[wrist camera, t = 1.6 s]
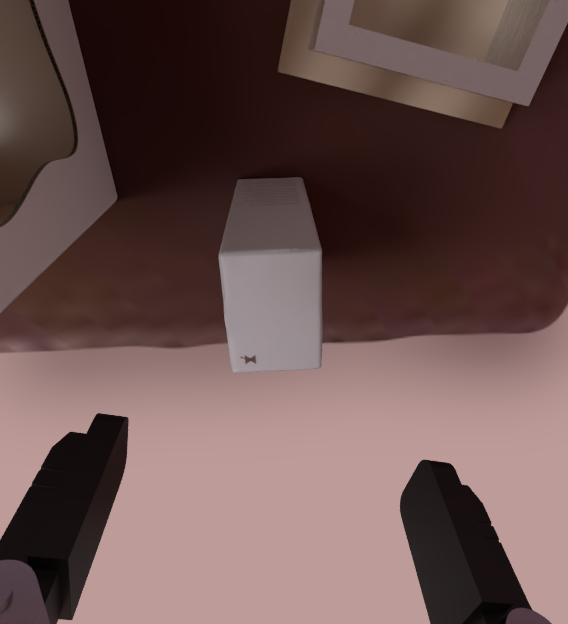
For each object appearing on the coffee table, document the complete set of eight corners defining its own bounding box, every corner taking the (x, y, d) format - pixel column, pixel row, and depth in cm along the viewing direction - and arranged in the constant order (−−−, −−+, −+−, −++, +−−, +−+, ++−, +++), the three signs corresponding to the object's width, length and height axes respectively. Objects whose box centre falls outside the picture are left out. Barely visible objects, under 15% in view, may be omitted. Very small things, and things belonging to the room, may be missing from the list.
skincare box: (305, 262, 30) (322, 373, 20) (243, 265, 30) (228, 377, 20) (304, 172, 27) (325, 249, 16) (235, 175, 27) (213, 253, 16)
